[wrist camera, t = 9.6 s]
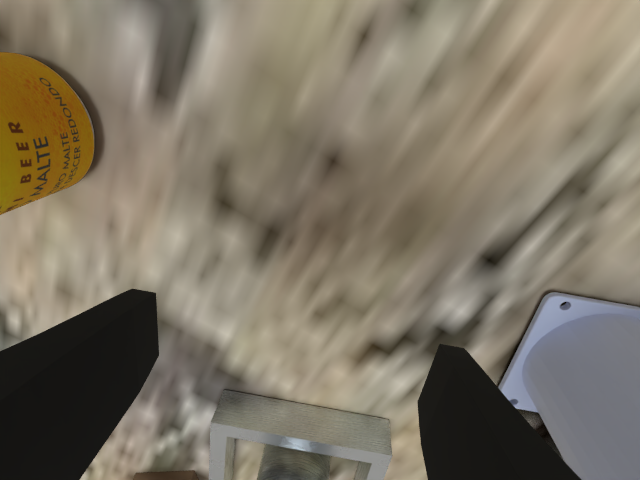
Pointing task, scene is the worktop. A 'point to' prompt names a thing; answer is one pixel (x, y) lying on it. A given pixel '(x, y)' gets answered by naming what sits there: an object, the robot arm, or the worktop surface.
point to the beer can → (39, 132)
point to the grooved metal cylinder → (293, 464)
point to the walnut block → (167, 475)
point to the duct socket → (297, 433)
